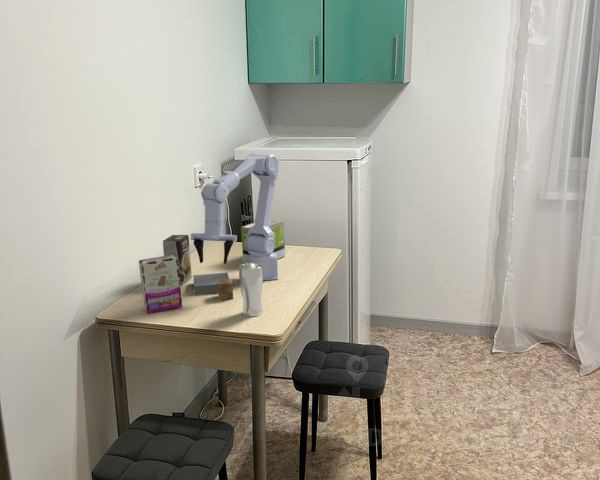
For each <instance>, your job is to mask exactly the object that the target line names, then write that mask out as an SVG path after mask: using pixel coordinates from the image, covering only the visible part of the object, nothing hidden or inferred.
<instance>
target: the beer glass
mask: <svg viewBox="0 0 600 480" xmlns="http://www.w3.org/2000/svg"><path fill="white" fill-rule="evenodd" d="M238 267H239V269H238V270H239V272H238V273H239V275H238V279H239V288H240V292H241V296H242V300H243V306H242V315H243V316H245V317H250V318H251V317H258V316H261V315H262V314H263V313H264V311H263V307H262V294H263V293H262V292H263V284H264V280H263V276H262V268H261V264H259V263H241V264H240V265H239V266H238Z"/></svg>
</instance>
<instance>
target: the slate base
mask: <svg viewBox="0 0 600 480" xmlns="http://www.w3.org/2000/svg"><path fill="white" fill-rule="evenodd" d="M192 277H193V279H192V280H193V291H194V295H195V296H196V295H198V296H199V295H207V294H209V295H210V294H218V280H223V279H230V277H229V272H218V273H205V274H193V275H192Z"/></svg>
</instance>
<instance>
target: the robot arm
mask: <svg viewBox="0 0 600 480" xmlns="http://www.w3.org/2000/svg"><path fill="white" fill-rule="evenodd" d="M279 164H280V162H279V160H278V157H277V156H276V155H275V154H273V153H269V154H265V153H254V152H253V153H250V154H249V155H247V156H246V157H245V160H244V161H243V162H242V163H240V165H239V166H237V168H235V169H234V170H233V171H231V170H227V171H226V170H225V171H224V172H223V174H222V175H221V176H219V177H218V178H215V179H214V181H213V182H212V183H211V182H208V183H206V184H205V185H203V187H202V191H201V192H200V196H201V198H202V200H203V205H204V233H191V234H190V241H193V246H194V247H195V250H196V252H197V255H198V261H199V264H203V262H204V241H211V242H212V241H213V242H214V241H215V242H223V251H224V253H223V265H227V264H228V258H229V254H230V251H231V248H232V247H233V245H234V243H237V241H238V235H235V234H225V233H224V202H225V201H226V200H227V198H228V196H229V194H230V193H231V192H232V191H233V190H234V189H236V188H237V187H238V186H239V185H240V180H242V179H243V178H245V177H246V176H248V175H249V174H253V175H254V176H255V177H256V178H257V179H258V180H259V181H260V185H259V190H258V191H259V192H258V198H257V203H256V204H257V205H256V212H255V218H254V223H255V224H254V226H253V227H252V228H251V229H249V230H248V235H247V237H246V239H245V248H246V249H247V250H248V252H249V254H250V259H251V263H259V264H261V268H262V276H263V281H272V280H279V276H278V275H279V274H278V273H279V272H278V271H279V270H278V259H277V256H276V253H272V252H273V251H274V248H275V234H274V232H273V231H272V230H271V229H270V228H269V227H270V220H272V214H273V213H272V212H273V205H274V199H275V193H276V185H277V178H278V173H279V166H280V165H279ZM258 234H263V235H264V236H261V235H258Z"/></svg>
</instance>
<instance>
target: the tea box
mask: <svg viewBox="0 0 600 480" xmlns="http://www.w3.org/2000/svg"><path fill="white" fill-rule="evenodd" d="M254 224H255V222H251V223H249V224H246V225H243V226H240V235H241V245H242V247H241V249H242V251H241V252H242V260H243V261H242V262H243V264H245V263H251V259H250V254H249V252H248V250H247V249H246V248H245V239H246V237H247V235H248V230H249V229H251V228H252V227H253V226H254ZM269 228H270V229H271V230H272V231H273V232H274V234H275V248H274V251H273V252H272V253H276V256H277V260H280V259H281V258H284V257H286V247H285V229H284V221H280V220H274V219H273V220H272V219H271V220H270V227H269ZM258 235H261V236H264V235H263V234H258Z"/></svg>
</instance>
